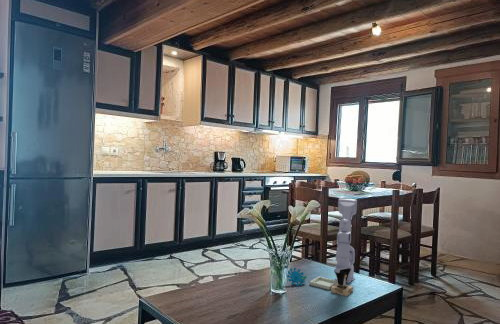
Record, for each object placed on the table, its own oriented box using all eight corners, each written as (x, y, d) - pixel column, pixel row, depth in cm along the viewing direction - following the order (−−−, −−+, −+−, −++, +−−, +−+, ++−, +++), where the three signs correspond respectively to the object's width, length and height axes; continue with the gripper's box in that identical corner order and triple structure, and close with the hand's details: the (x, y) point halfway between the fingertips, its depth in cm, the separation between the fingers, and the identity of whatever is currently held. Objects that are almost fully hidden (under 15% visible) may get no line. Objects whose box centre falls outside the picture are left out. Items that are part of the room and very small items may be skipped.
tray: (319, 279, 190) (319, 276, 190) (338, 284, 183) (338, 281, 183) (309, 284, 181) (309, 281, 181) (329, 290, 174) (329, 286, 174)
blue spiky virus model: (288, 284, 176) (286, 266, 183) (284, 289, 180) (282, 271, 187) (309, 286, 179) (306, 268, 186) (304, 291, 183) (302, 273, 190)
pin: (339, 288, 176) (340, 272, 176) (347, 290, 173) (347, 274, 173) (336, 290, 173) (337, 274, 173) (344, 292, 170) (344, 276, 170)
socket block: (337, 287, 179) (337, 282, 179) (352, 291, 174) (353, 286, 174) (330, 291, 172) (331, 286, 172) (346, 296, 167) (346, 291, 167)
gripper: (341, 251, 181) (340, 278, 181) (329, 257, 170) (328, 285, 170) (354, 254, 177) (353, 281, 177) (343, 260, 165) (342, 289, 165)
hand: (342, 283), depth 173 cm, fingers closed on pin, 4 cm apart
